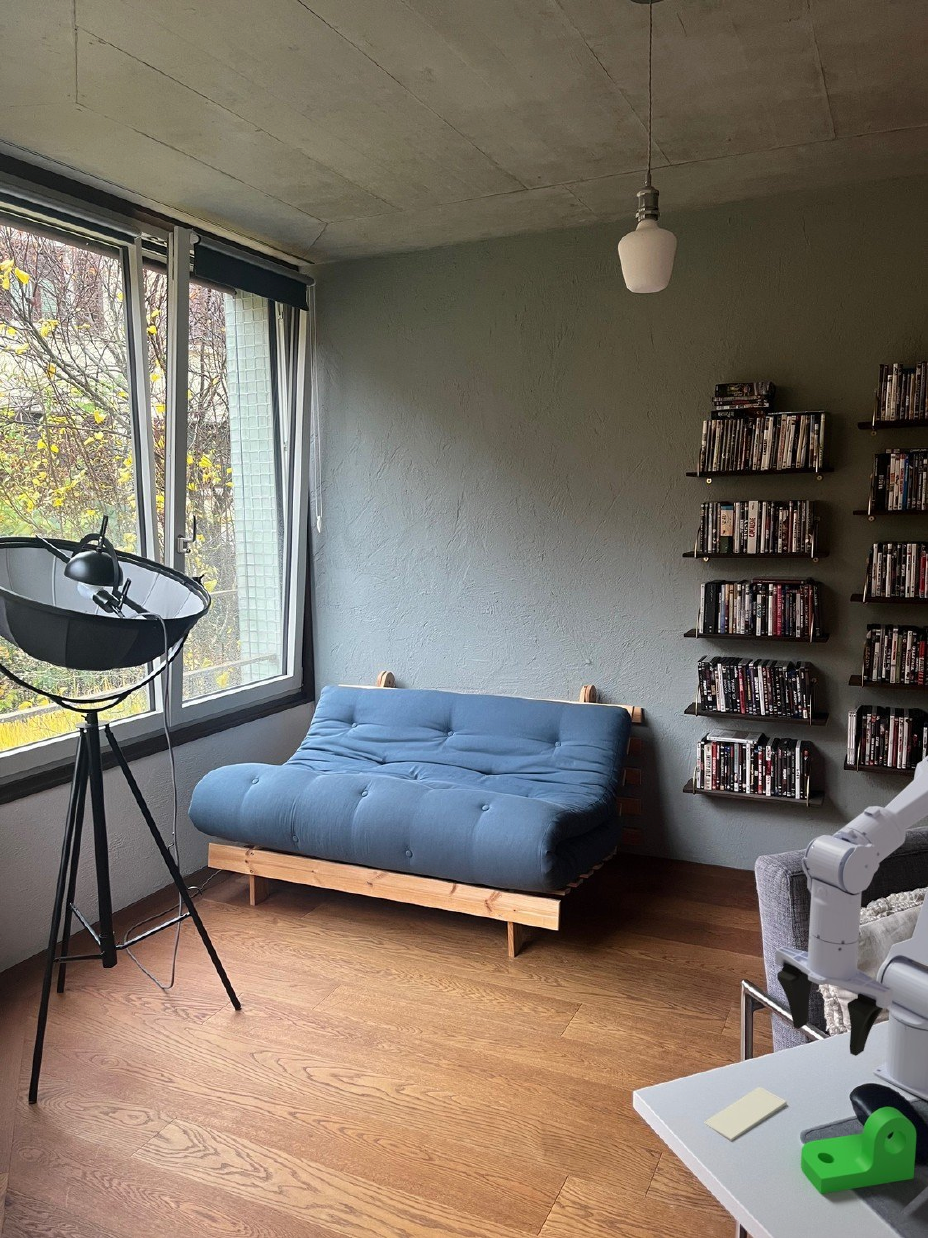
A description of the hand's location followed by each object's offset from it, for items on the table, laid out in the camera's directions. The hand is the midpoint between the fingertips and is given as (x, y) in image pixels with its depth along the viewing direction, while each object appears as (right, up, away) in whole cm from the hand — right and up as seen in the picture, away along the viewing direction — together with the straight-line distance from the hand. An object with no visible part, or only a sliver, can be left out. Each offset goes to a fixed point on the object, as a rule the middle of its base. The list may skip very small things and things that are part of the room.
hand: (827, 1038), depth 118 cm
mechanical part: (-1, -12, -8) cm, 14 cm away
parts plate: (-10, -10, +1) cm, 14 cm away
